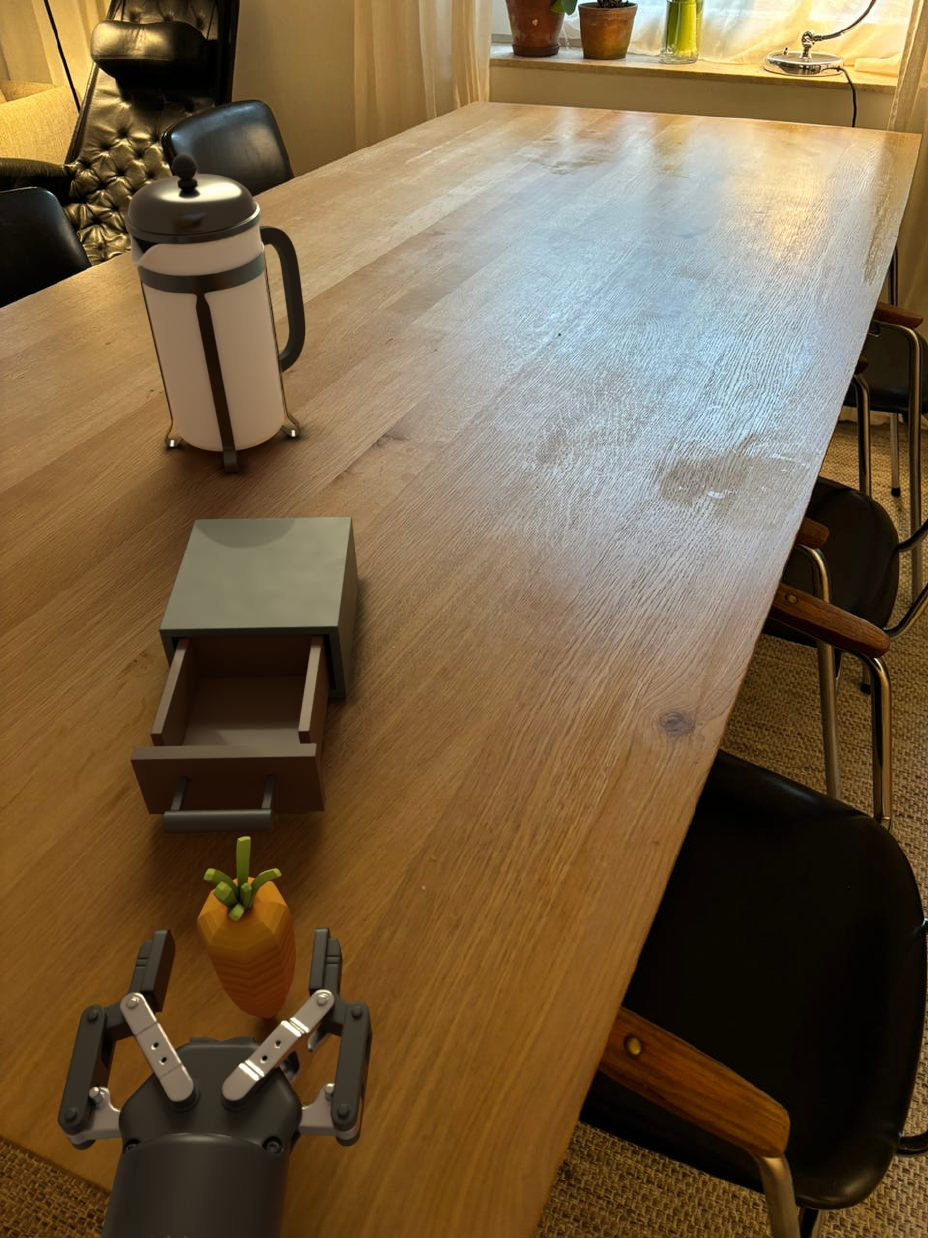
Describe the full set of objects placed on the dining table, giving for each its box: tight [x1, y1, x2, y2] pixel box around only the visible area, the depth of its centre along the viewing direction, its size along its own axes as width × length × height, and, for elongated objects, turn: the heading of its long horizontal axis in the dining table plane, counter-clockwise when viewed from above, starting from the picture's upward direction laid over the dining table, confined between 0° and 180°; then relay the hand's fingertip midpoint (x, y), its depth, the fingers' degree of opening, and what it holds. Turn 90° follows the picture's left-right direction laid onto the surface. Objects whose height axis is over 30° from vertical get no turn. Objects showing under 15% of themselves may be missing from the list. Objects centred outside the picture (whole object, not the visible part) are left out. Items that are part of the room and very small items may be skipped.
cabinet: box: [158, 516, 360, 699], centre depth 83 cm, size 15×14×8 cm
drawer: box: [130, 634, 331, 835], centre depth 72 cm, size 18×12×6 cm
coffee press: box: [123, 153, 307, 473], centre depth 102 cm, size 17×16×30 cm
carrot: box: [196, 836, 297, 1020], centre depth 55 cm, size 5×5×15 cm
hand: (244, 936), depth 54 cm, fingers open, 8 cm apart
